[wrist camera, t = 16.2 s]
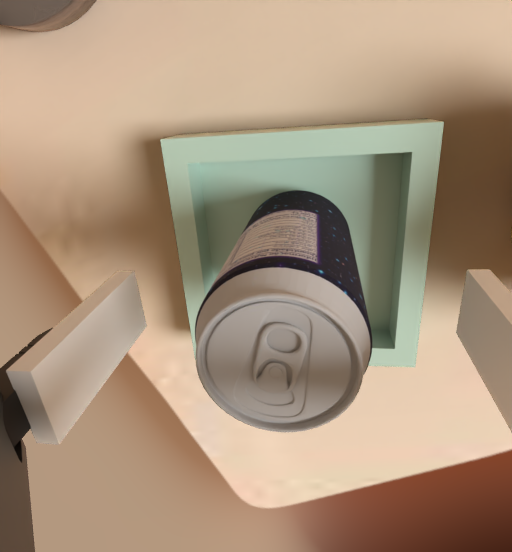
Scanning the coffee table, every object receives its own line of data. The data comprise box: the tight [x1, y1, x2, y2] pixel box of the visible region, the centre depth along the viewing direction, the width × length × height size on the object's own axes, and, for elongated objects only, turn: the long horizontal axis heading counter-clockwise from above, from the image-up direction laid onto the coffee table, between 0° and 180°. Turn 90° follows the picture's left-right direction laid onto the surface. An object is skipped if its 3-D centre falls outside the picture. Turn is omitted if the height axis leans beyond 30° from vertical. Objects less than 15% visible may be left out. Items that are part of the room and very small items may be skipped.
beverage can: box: [195, 190, 373, 432], centre depth 17 cm, size 6×6×12 cm
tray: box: [160, 119, 444, 367], centre depth 22 cm, size 13×13×3 cm
